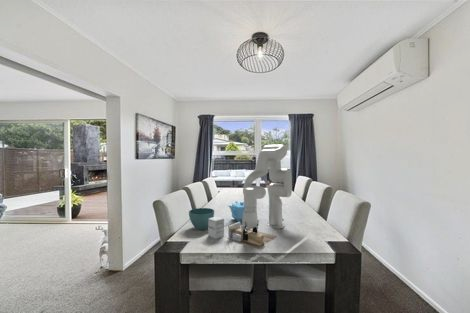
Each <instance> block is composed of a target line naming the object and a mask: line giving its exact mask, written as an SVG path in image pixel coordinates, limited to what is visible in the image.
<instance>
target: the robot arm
mask: <svg viewBox="0 0 470 313" xmlns="http://www.w3.org/2000/svg"><path fill="white" fill-rule="evenodd" d="M287 153H288V148H287V146H286V145H284V144H267V145H264V146H263V147H262V150H260V151H259V153H258V157H257V159H256V163H255V168H254V170H253V171H252V172H251V173H249V175H247V177H246V178H245V181H244V184H243V188H242V195H243V202H244V212H243V217H242V222H241V225H240V229H241V231H242V233H243V240H246V241H248V234H247V233H248V230H253V232H255V233H257V231H258V229H259V223H260V220H259V219H258V211H257V210H258V209H257V204H258V203H257V200H259V199H260V200H261V199H264V198H265V197H266V195H267V196H268V223H266V226H267V227H271V228H275V229H278V230H281V229H284V228H285V224H284V223H283V222H284V221H285V219H284V218H283V201H282V198H290V197H291V196H292V194H293V181H292V180H293V177H292V176H293V175H292V172H291V170H290V169H288V168H282V164H281V163H282V162H281V161H282V160H283V159H284V158H285V157H286V156H287ZM267 174H269V180H270V181H272V182H271V183H269V184H268V185H267V190H266V188H265V187H263V186H260V185H252V184H253V182H254V181H256V180H257V179H259V178H262V177H265V176H266V175H267ZM276 182H277V183H276ZM267 193H268V194H267ZM280 197H281V198H280ZM245 230H246V231H245Z"/></svg>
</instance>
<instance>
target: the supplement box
mask: <svg viewBox="0 0 470 313" xmlns="http://www.w3.org/2000/svg"><path fill="white" fill-rule="evenodd" d="M207 229H208V234H207V236H208V237H210V238H213V239H215V240H217V239H220V238H222V237H225V218H224V217H220V216H214V217H212V218H209V219H208V228H207Z"/></svg>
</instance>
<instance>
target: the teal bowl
mask: <svg viewBox="0 0 470 313" xmlns="http://www.w3.org/2000/svg"><path fill="white" fill-rule="evenodd" d="M188 217H189V220H190V223H191V225H192V226H193V227H194V228H195V229H196V230H199V231H201V230H202V231H203V230H204V231H205V230H206V229H208V219H209V218H212V217H215V209H213V208H209V207H208V208H207V207H199V208H193V209H190V210H188Z"/></svg>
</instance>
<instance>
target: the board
mask: <svg viewBox="0 0 470 313" xmlns="http://www.w3.org/2000/svg"><path fill="white" fill-rule="evenodd" d="M248 231H251V232H253V229H250V230H248ZM257 233H259V234H263V235H264V244H262V245H261V246H259V245H256V244H253V243H249V242H246V241H241V242H238V241H235V240H233V241H234V242H238V243H241V244H243V245H244V244H245V245H248V246H250V247H255V248H257V249H260V248H262V247H263V246H264V245H267V244H268V243H269V242H271V241H273V240H274V239H276V238H277V237H278V235H273V234H269V233H266V232H262V231H258V230H257ZM226 239H228V237H227V238H226ZM228 240H231V239H228ZM231 241H232V240H231Z"/></svg>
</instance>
